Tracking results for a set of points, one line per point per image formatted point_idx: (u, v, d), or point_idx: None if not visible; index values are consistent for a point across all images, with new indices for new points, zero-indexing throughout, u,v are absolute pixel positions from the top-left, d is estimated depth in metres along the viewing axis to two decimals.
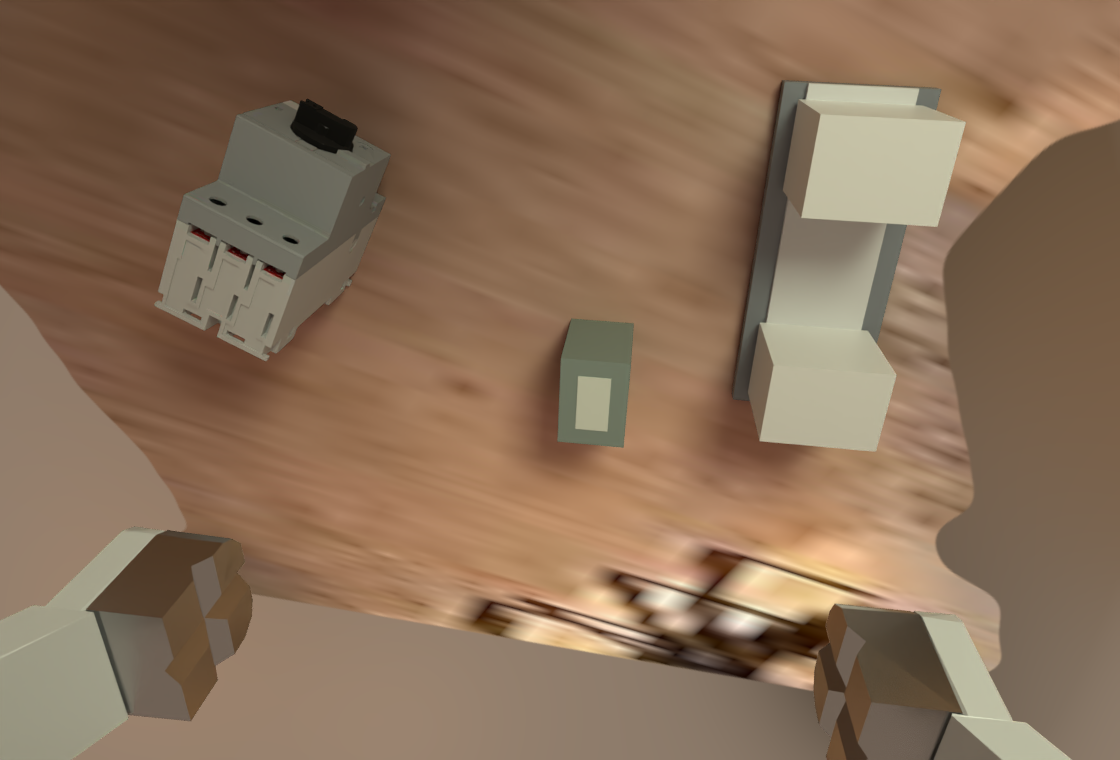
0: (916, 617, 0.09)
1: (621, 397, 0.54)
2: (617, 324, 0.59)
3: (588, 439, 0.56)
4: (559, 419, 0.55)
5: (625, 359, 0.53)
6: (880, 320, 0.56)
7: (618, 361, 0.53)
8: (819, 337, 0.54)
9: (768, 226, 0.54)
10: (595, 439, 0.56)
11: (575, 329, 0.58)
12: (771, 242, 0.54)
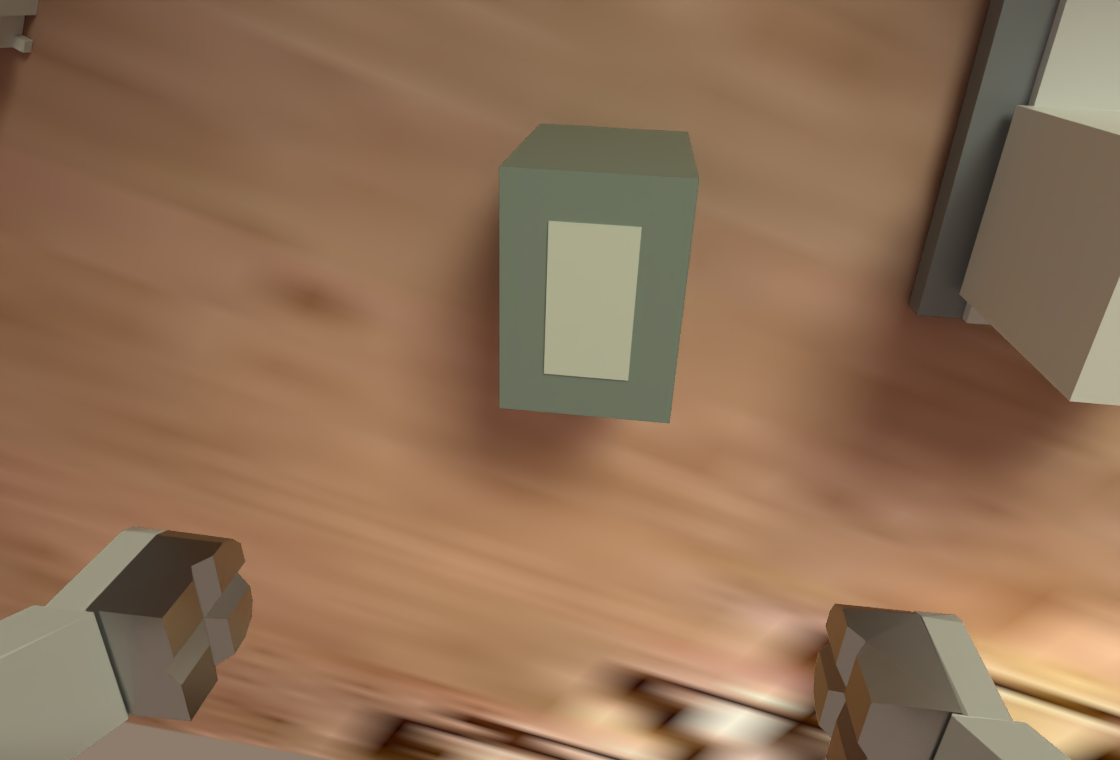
0: (916, 617, 0.09)
1: (668, 282, 0.20)
2: (648, 131, 0.25)
3: (578, 402, 0.22)
4: (502, 348, 0.21)
5: (681, 172, 0.19)
6: None
7: (663, 174, 0.19)
8: None
9: None
10: (596, 402, 0.21)
11: (547, 134, 0.23)
12: None
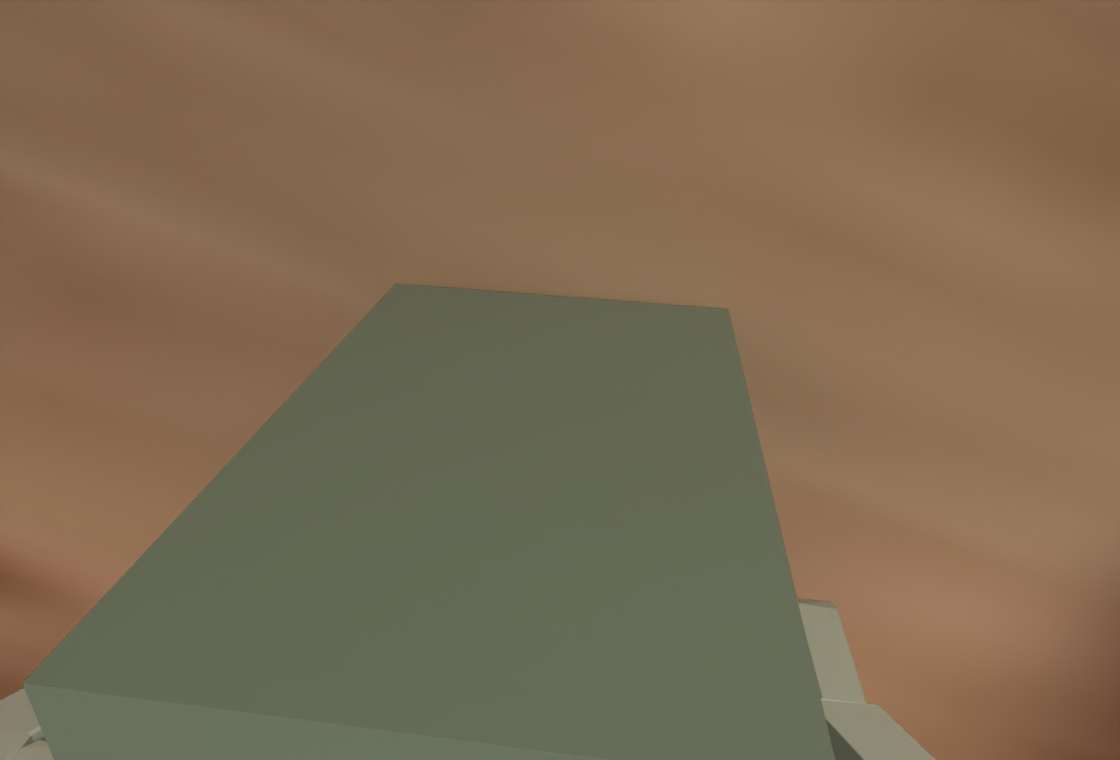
0: None
1: None
2: (638, 314, 0.11)
3: None
4: None
5: (754, 688, 0.05)
6: None
7: (685, 723, 0.05)
8: None
9: None
10: None
11: (383, 343, 0.09)
12: None
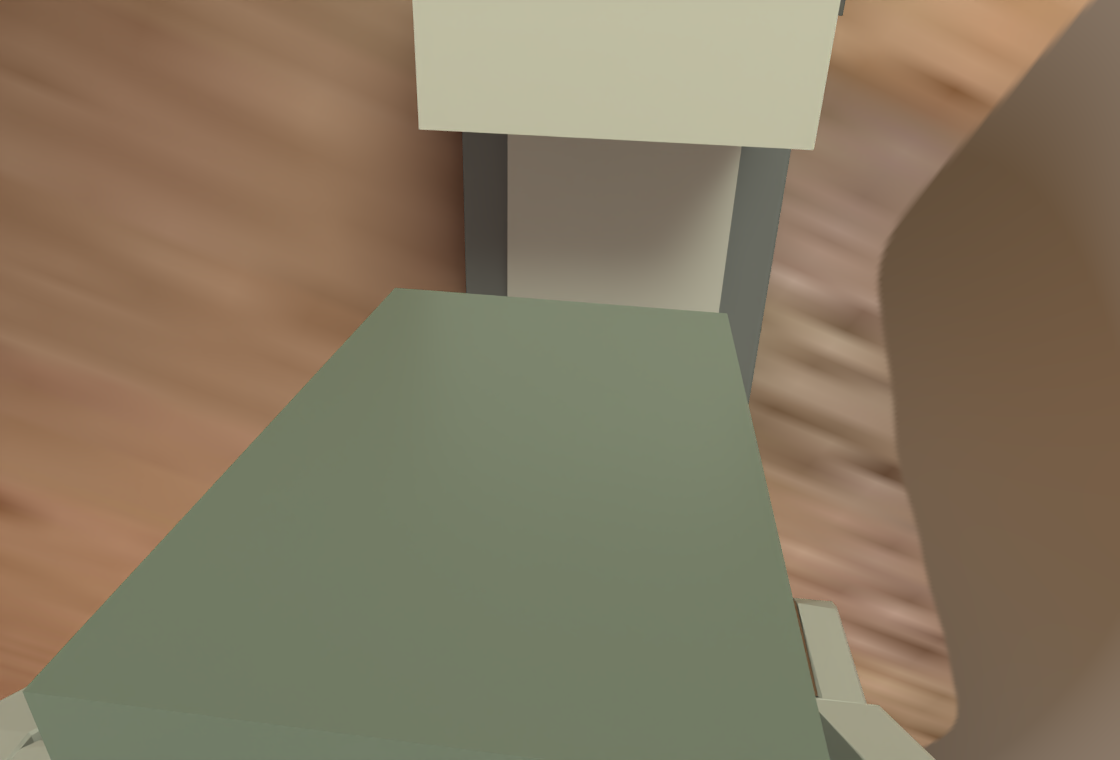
0: None
1: None
2: (637, 318, 0.11)
3: None
4: None
5: (751, 696, 0.05)
6: (746, 389, 0.26)
7: (681, 732, 0.05)
8: None
9: (479, 182, 0.24)
10: None
11: (383, 348, 0.09)
12: (492, 219, 0.24)
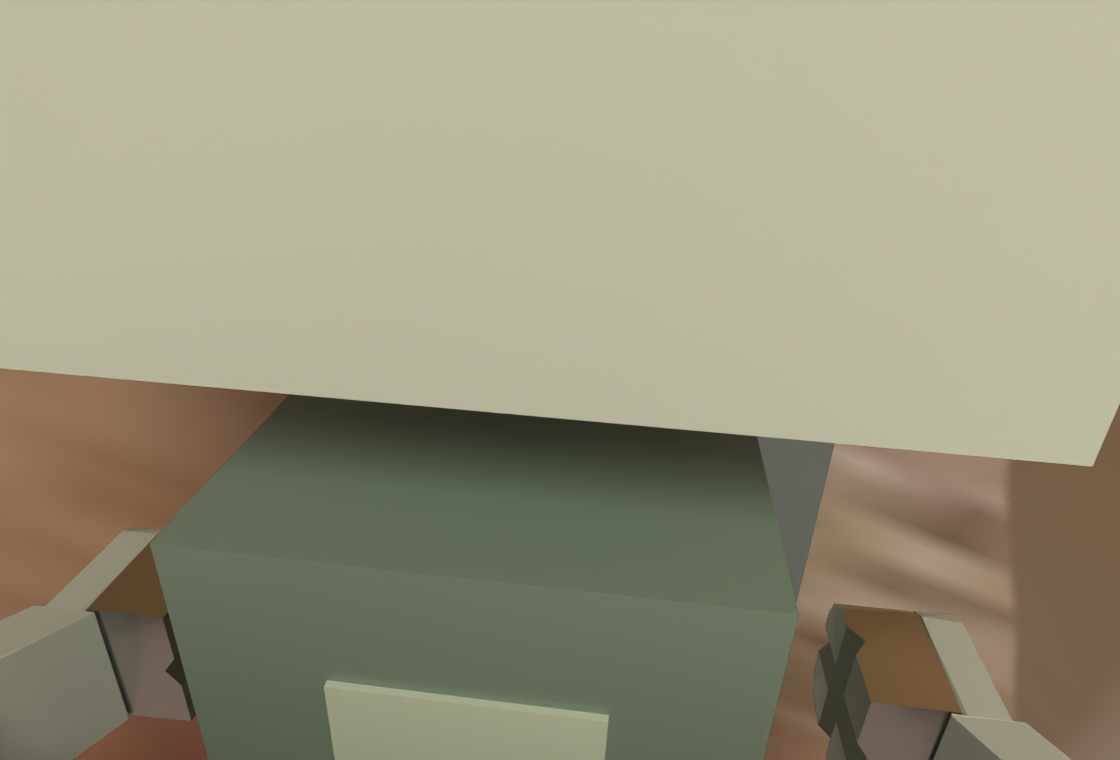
0: (915, 616, 0.09)
1: None
2: None
3: None
4: None
5: (733, 551, 0.06)
6: None
7: (677, 573, 0.06)
8: None
9: None
10: None
11: None
12: None
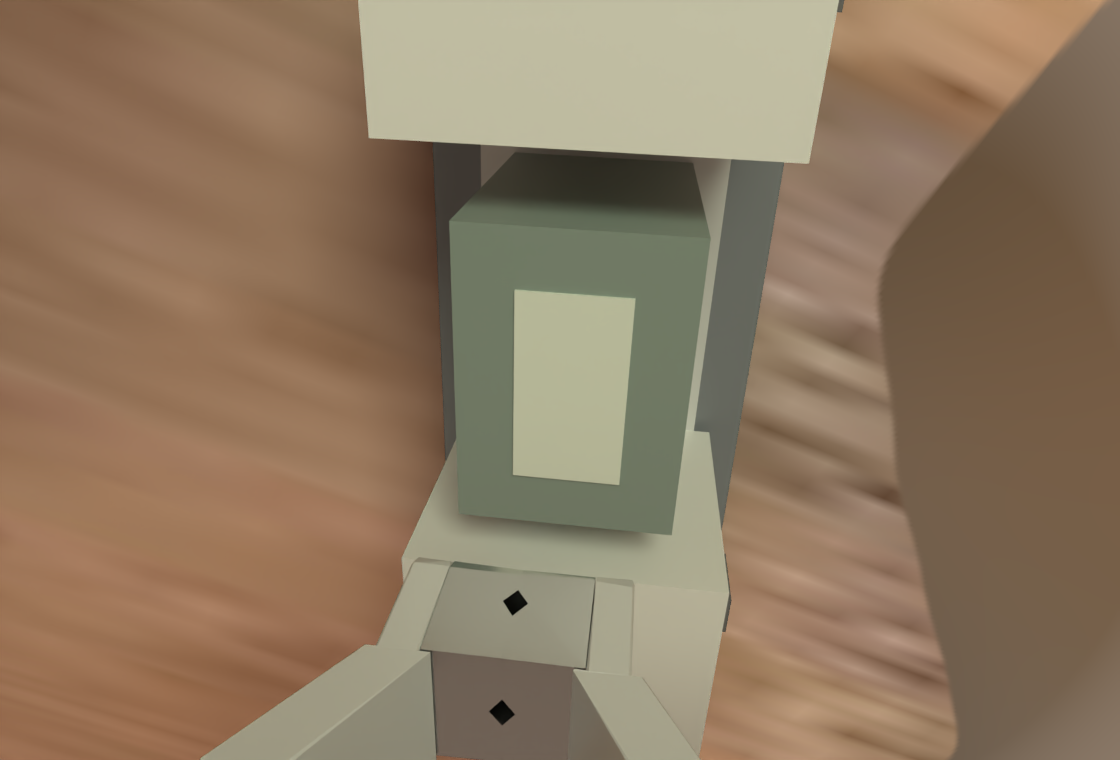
0: (589, 581, 0.09)
1: (670, 367, 0.15)
2: (645, 163, 0.20)
3: (556, 509, 0.17)
4: (459, 444, 0.17)
5: (687, 227, 0.14)
6: (737, 409, 0.24)
7: (663, 231, 0.14)
8: None
9: (451, 189, 0.22)
10: (580, 509, 0.17)
11: (520, 168, 0.19)
12: None
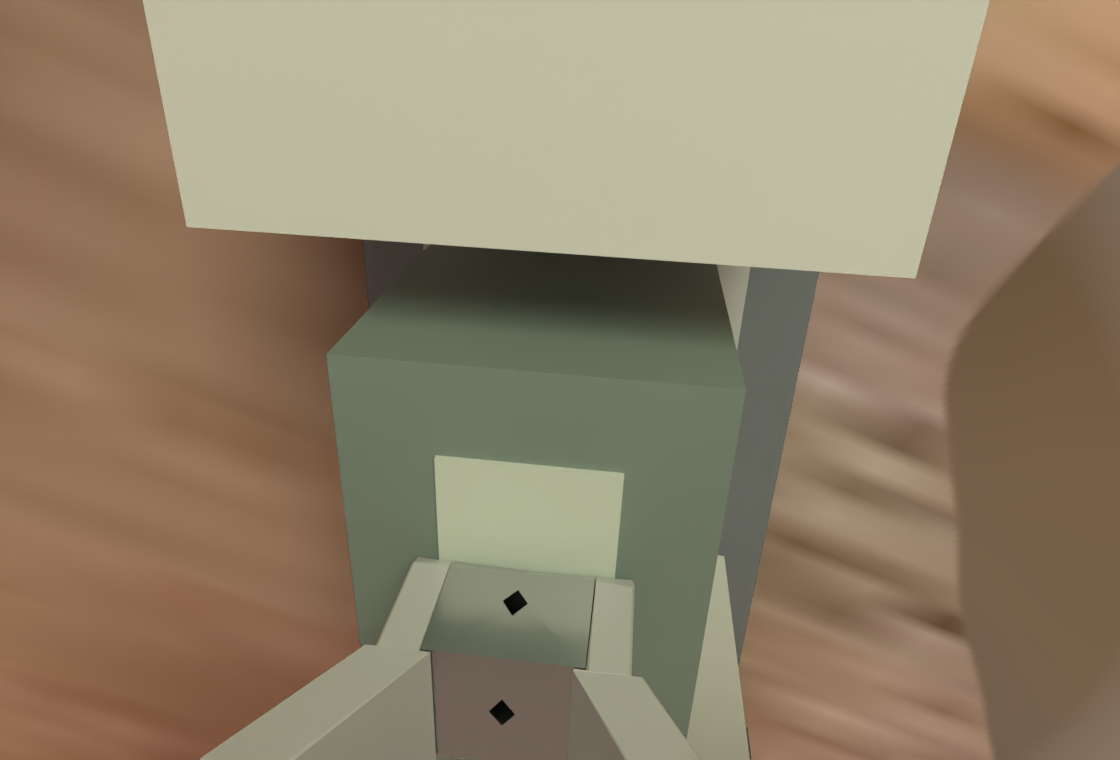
0: (590, 581, 0.09)
1: (679, 570, 0.10)
2: None
3: None
4: None
5: (706, 362, 0.09)
6: (760, 526, 0.19)
7: (669, 371, 0.09)
8: None
9: (386, 251, 0.17)
10: None
11: None
12: None
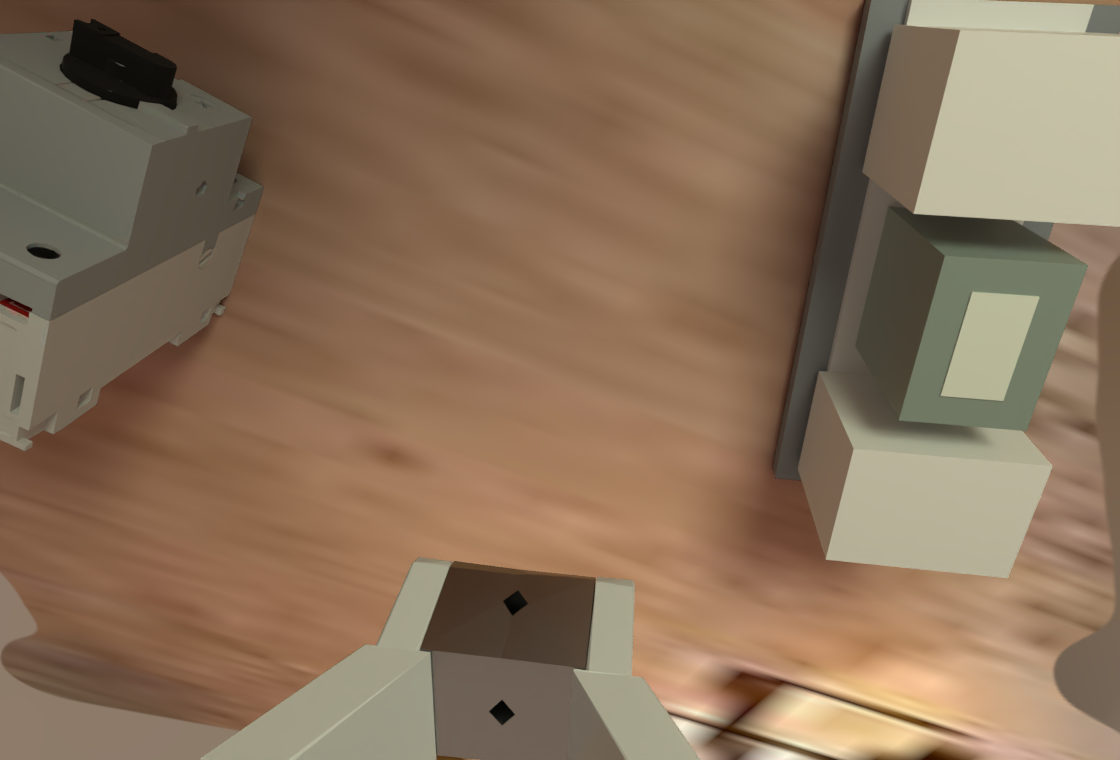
0: (589, 581, 0.09)
1: (1049, 333, 0.28)
2: None
3: (960, 416, 0.30)
4: (912, 378, 0.30)
5: (1067, 258, 0.27)
6: None
7: (1058, 261, 0.27)
8: None
9: (836, 228, 0.35)
10: (974, 416, 0.30)
11: (914, 219, 0.32)
12: (840, 252, 0.36)
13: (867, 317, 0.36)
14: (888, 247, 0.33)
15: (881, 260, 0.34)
